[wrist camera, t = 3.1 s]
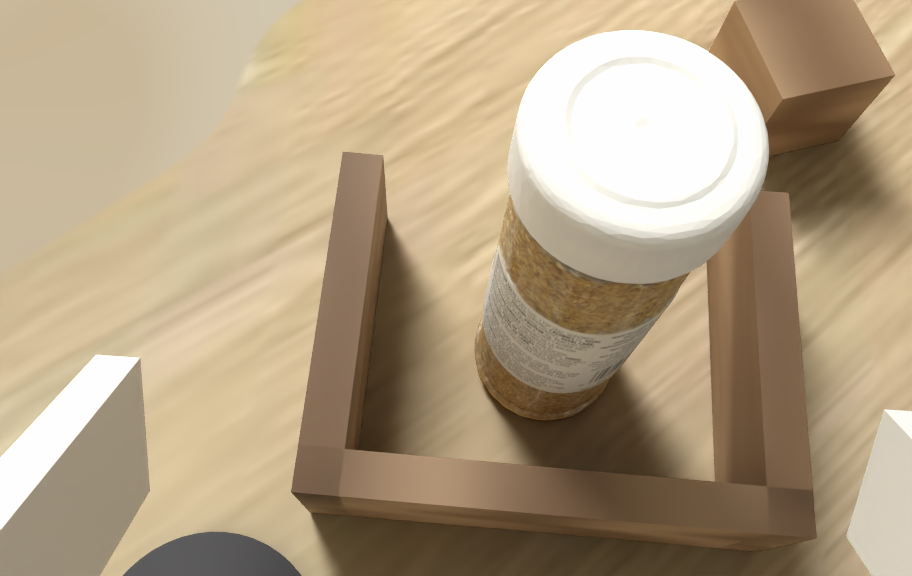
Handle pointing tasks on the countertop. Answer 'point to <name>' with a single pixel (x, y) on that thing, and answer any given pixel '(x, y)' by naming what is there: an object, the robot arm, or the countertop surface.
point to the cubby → (569, 490)
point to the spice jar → (611, 210)
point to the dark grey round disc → (213, 558)
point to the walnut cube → (803, 66)
